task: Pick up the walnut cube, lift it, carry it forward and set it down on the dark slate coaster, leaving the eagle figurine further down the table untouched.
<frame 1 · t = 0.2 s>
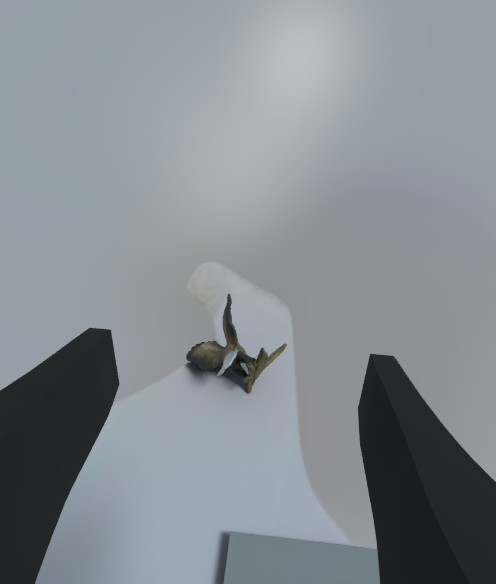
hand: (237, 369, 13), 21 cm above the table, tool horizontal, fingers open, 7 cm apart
eagle figurine: (228, 369, 45), on the table
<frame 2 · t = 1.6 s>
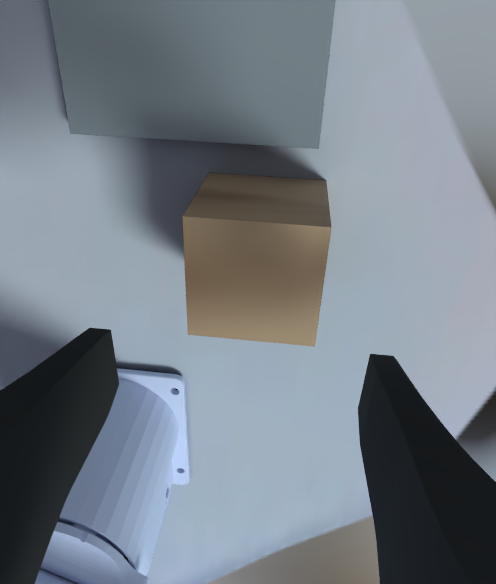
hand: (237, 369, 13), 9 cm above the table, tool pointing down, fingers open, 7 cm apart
walnut cube: (264, 229, 21), on the table
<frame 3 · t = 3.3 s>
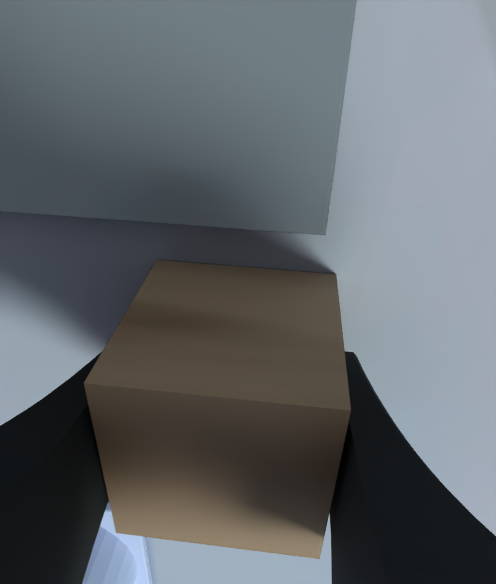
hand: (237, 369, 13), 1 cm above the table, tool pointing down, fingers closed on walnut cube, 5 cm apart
walnut cube: (242, 338, 14), on the table, touching gripper
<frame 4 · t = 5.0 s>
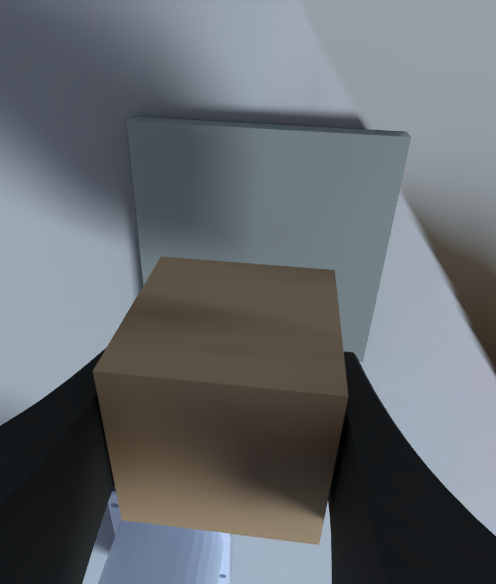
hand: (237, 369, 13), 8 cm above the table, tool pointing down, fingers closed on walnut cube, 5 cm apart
walnut cube: (244, 333, 14), point 6 cm above the table, touching gripper
slate coaster: (260, 247, 19), on the table
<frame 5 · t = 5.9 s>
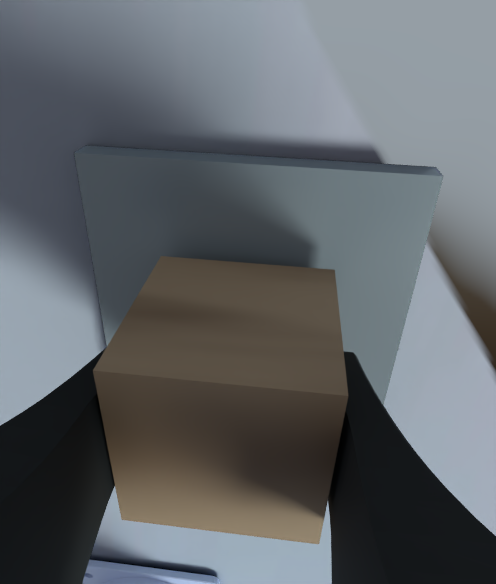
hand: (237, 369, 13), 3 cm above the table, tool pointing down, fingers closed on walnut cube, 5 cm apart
walnut cube: (244, 333, 14), point 2 cm above the table, touching gripper
slate coaster: (249, 302, 16), on the table
when the fingers open (3 cm above the table, at t = 6.6 s): walnut cube stays where it is, resting on slate coaster.
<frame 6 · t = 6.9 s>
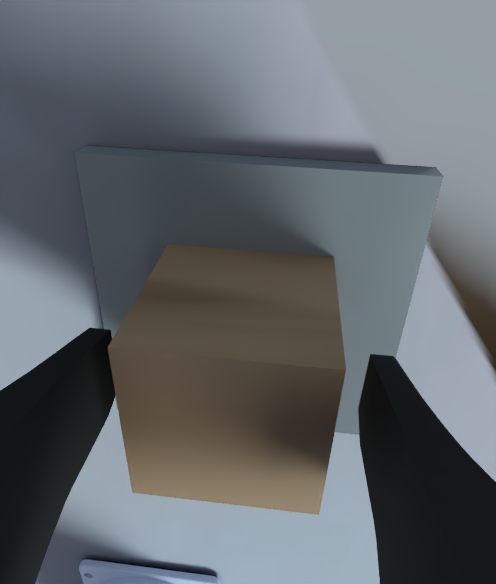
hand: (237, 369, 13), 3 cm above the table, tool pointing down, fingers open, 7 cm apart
walnut cube: (247, 318, 15), point 1 cm above the table, touching slate coaster
slate coaster: (249, 302, 16), on the table
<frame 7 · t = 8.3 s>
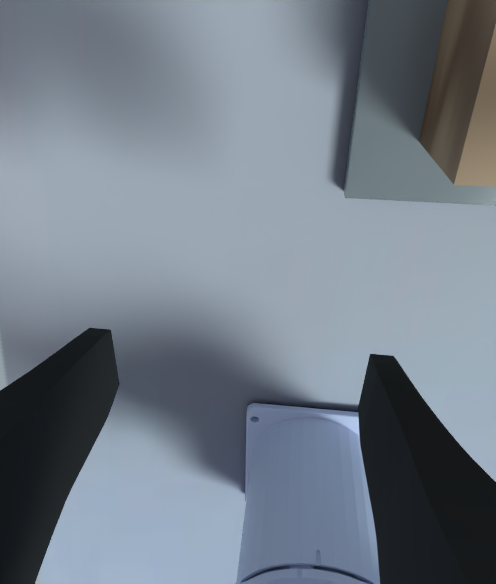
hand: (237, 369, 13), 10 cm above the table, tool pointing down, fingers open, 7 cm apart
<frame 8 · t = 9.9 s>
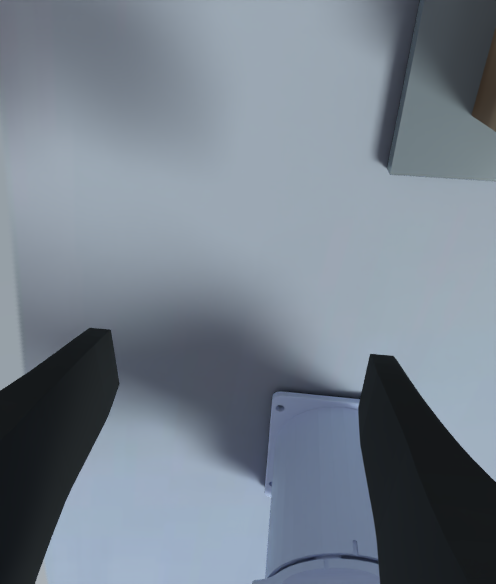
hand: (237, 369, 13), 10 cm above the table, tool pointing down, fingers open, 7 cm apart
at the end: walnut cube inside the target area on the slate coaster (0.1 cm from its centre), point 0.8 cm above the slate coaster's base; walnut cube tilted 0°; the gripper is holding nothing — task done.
